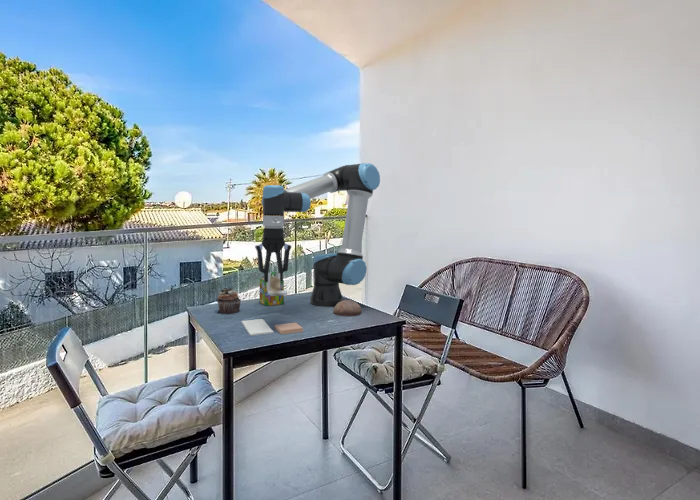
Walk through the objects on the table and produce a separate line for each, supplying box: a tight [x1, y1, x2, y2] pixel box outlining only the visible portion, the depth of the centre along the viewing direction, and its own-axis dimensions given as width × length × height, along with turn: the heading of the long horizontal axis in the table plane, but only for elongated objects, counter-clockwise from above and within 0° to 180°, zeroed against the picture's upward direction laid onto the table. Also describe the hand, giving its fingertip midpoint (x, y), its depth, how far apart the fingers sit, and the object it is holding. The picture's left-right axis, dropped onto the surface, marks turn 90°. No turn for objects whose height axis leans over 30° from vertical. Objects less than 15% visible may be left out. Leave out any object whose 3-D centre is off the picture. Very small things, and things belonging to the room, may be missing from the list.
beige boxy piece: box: [268, 275, 288, 296], centre depth 150 cm, size 6×13×5 cm, turn 24°
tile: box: [274, 322, 304, 335], centre depth 146 cm, size 8×2×8 cm
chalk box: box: [259, 271, 285, 307], centre depth 187 cm, size 9×9×15 cm
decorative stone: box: [332, 299, 362, 317], centre depth 171 cm, size 12×12×6 cm
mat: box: [241, 318, 274, 337], centre depth 149 cm, size 8×18×1 cm, turn 24°
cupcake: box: [216, 287, 242, 315], centre depth 172 cm, size 10×10×10 cm
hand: (273, 290), depth 152 cm, fingers closed on beige boxy piece, 3 cm apart
